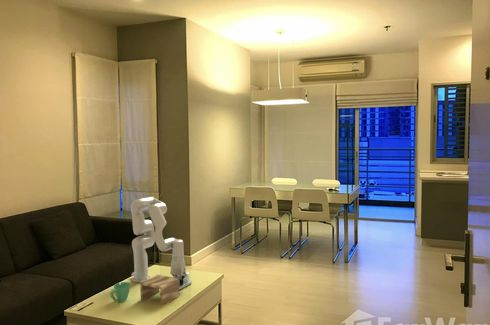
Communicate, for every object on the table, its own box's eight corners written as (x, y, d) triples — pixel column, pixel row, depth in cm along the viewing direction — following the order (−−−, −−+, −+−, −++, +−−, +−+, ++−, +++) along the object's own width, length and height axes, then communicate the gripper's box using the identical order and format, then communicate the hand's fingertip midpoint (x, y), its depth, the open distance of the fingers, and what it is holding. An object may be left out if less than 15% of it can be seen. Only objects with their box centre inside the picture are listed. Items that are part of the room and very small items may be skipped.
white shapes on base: (165, 290, 270) (165, 279, 270) (184, 281, 288) (183, 271, 287) (173, 292, 267) (173, 281, 266) (192, 282, 284) (191, 272, 284)
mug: (121, 296, 264) (121, 281, 263) (133, 298, 260) (133, 283, 259) (105, 304, 251) (104, 289, 250) (117, 307, 247) (117, 291, 246)
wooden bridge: (140, 299, 257) (140, 282, 257) (157, 291, 271) (157, 274, 271) (162, 305, 249) (162, 286, 248) (179, 296, 263) (178, 278, 262)
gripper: (165, 257, 277) (165, 284, 278) (184, 261, 268) (185, 288, 270) (172, 254, 283) (172, 280, 284) (191, 258, 275) (192, 284, 276)
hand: (178, 283), depth 277 cm, fingers closed on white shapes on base, 4 cm apart
